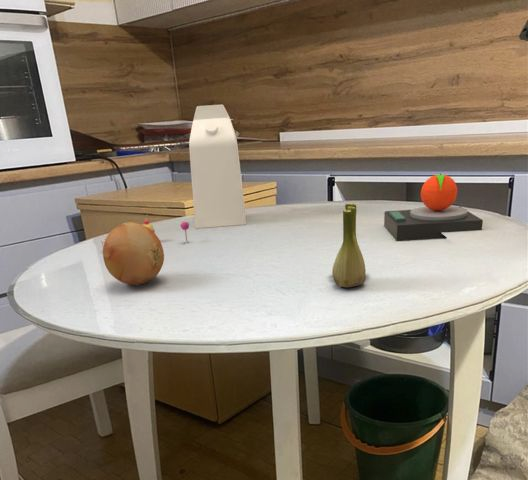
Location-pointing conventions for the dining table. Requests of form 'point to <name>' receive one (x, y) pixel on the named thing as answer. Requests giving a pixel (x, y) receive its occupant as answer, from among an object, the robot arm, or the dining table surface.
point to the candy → (146, 223)
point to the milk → (215, 169)
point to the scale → (429, 222)
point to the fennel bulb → (349, 253)
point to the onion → (133, 253)
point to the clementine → (439, 192)
